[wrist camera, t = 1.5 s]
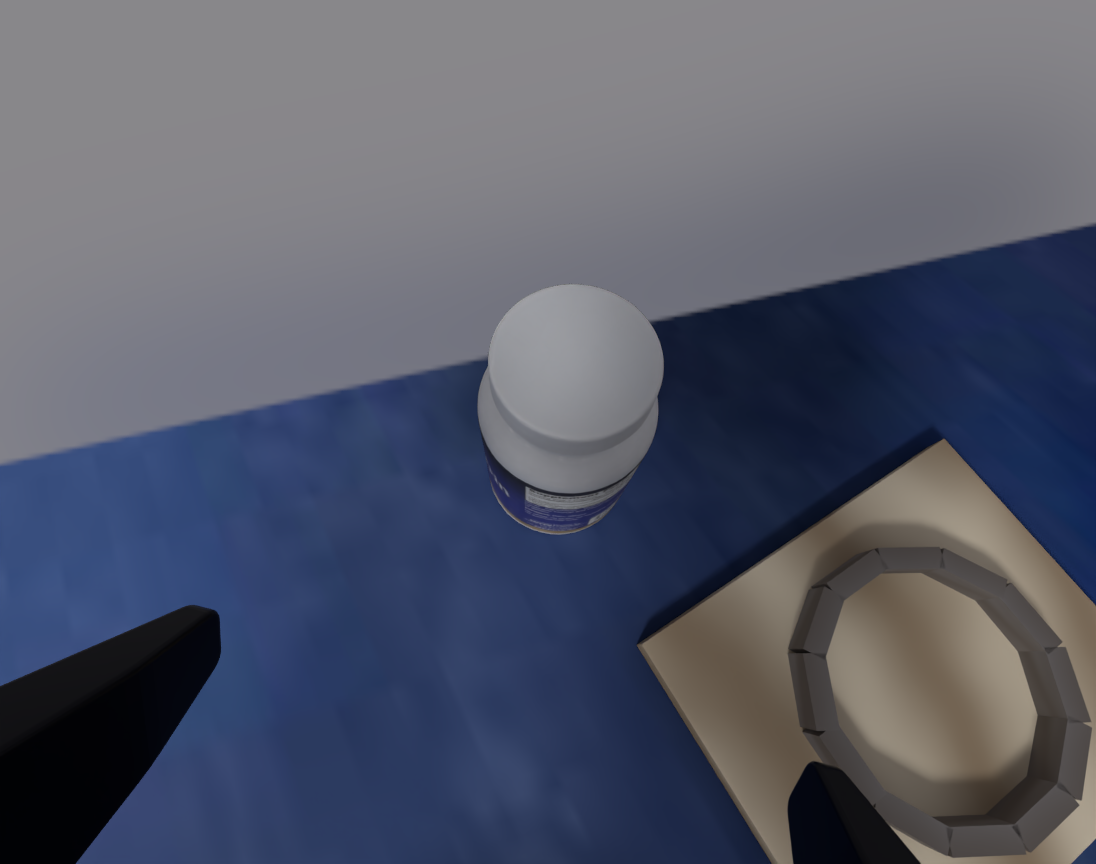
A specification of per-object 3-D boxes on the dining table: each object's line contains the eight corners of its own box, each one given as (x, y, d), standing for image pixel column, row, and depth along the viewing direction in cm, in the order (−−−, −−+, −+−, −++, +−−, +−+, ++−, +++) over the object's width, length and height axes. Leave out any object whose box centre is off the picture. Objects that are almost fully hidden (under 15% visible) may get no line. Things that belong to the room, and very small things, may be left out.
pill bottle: (486, 413, 25) (465, 268, 15) (614, 406, 25) (667, 261, 16) (491, 543, 23) (471, 465, 13) (631, 533, 23) (704, 451, 14)
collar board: (871, 1024, 18) (917, 1073, 15) (636, 644, 21) (648, 643, 19) (1175, 724, 21) (1245, 731, 19) (928, 446, 25) (964, 428, 23)
